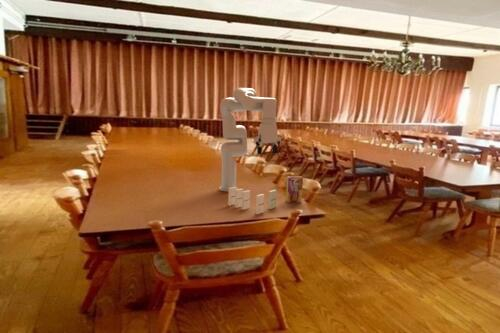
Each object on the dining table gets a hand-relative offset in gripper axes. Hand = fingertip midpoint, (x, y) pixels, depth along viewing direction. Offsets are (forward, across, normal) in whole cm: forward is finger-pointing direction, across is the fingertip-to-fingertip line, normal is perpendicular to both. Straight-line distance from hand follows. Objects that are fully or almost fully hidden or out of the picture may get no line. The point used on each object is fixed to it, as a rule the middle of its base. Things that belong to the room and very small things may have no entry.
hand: (267, 153), depth 185 cm
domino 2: (+31, +11, -10) cm, 34 cm away
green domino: (+31, -5, 0) cm, 31 cm away
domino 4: (+31, +6, +5) cm, 32 cm away
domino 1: (+31, +13, -14) cm, 36 cm away
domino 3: (+31, +9, -5) cm, 33 cm away
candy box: (+31, -25, -6) cm, 40 cm away
